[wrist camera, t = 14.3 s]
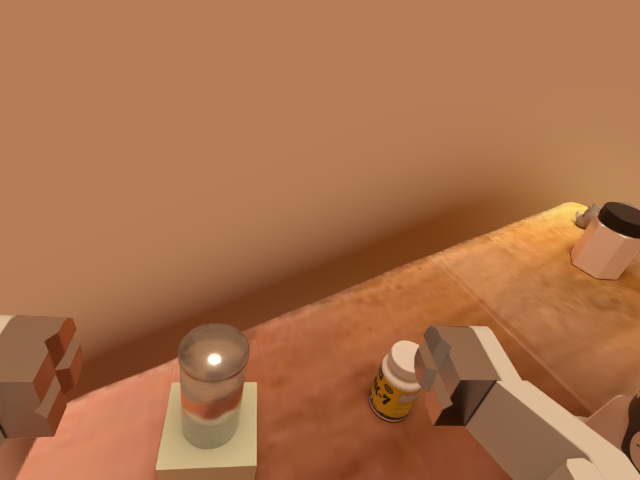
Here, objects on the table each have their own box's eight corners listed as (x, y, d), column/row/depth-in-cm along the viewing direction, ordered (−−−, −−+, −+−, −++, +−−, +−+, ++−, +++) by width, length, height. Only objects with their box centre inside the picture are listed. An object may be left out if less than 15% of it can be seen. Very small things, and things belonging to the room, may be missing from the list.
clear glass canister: (241, 395, 39) (250, 324, 33) (238, 449, 35) (248, 379, 29) (184, 394, 38) (184, 321, 32) (175, 451, 34) (172, 378, 28)
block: (253, 405, 43) (256, 382, 40) (253, 487, 36) (256, 465, 34) (173, 406, 41) (172, 382, 39) (158, 492, 35) (155, 469, 32)
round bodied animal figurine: (579, 231, 95) (583, 195, 92) (642, 240, 86) (649, 201, 84) (567, 238, 90) (572, 201, 88) (633, 249, 82) (640, 208, 79)
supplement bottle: (361, 387, 47) (380, 339, 42) (398, 382, 48) (419, 334, 43) (377, 427, 43) (400, 378, 38) (416, 419, 44) (442, 372, 40)
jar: (597, 254, 82) (634, 203, 75) (626, 281, 75) (669, 228, 68) (559, 251, 80) (593, 199, 73) (585, 279, 73) (625, 224, 67)
